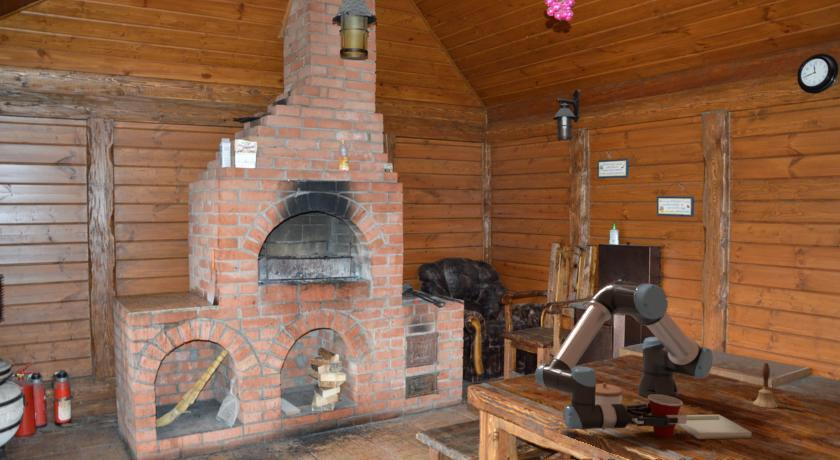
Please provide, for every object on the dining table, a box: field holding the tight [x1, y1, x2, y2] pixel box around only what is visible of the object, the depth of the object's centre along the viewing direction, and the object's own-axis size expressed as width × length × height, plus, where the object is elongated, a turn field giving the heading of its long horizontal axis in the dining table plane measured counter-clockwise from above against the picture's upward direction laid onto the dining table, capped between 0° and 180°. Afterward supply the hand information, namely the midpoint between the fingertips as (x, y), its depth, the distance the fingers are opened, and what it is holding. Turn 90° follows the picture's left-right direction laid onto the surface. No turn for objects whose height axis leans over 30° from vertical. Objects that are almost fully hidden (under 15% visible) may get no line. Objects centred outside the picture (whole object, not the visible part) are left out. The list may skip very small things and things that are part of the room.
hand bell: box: [752, 362, 779, 409], centre depth 241 cm, size 8×8×16 cm
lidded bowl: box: [595, 382, 624, 405], centre depth 229 cm, size 13×13×11 cm
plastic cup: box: [647, 394, 684, 438], centre depth 207 cm, size 11×11×12 cm
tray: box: [675, 414, 752, 440], centre depth 213 cm, size 18×18×2 cm
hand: (678, 414), depth 208 cm, fingers closed on plastic cup, 9 cm apart
